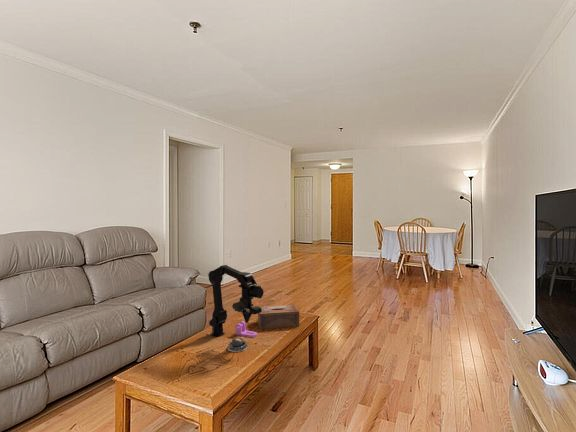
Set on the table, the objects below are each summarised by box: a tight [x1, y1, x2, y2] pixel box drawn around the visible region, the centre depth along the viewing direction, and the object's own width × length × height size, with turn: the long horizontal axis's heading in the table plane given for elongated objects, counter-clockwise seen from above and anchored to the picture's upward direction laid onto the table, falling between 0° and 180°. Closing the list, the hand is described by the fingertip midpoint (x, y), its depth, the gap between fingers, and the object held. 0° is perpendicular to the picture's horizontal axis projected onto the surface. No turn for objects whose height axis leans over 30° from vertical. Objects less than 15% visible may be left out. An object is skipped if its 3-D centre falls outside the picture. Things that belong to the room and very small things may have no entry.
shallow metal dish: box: [227, 340, 249, 353], centre depth 185 cm, size 11×11×2 cm
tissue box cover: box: [257, 304, 300, 330], centre depth 223 cm, size 26×14×10 cm, turn 101°
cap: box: [231, 337, 244, 347], centre depth 185 cm, size 6×6×4 cm
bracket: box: [235, 320, 258, 338], centre depth 204 cm, size 13×6×7 cm, turn 66°
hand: (246, 322), depth 191 cm, fingers closed
